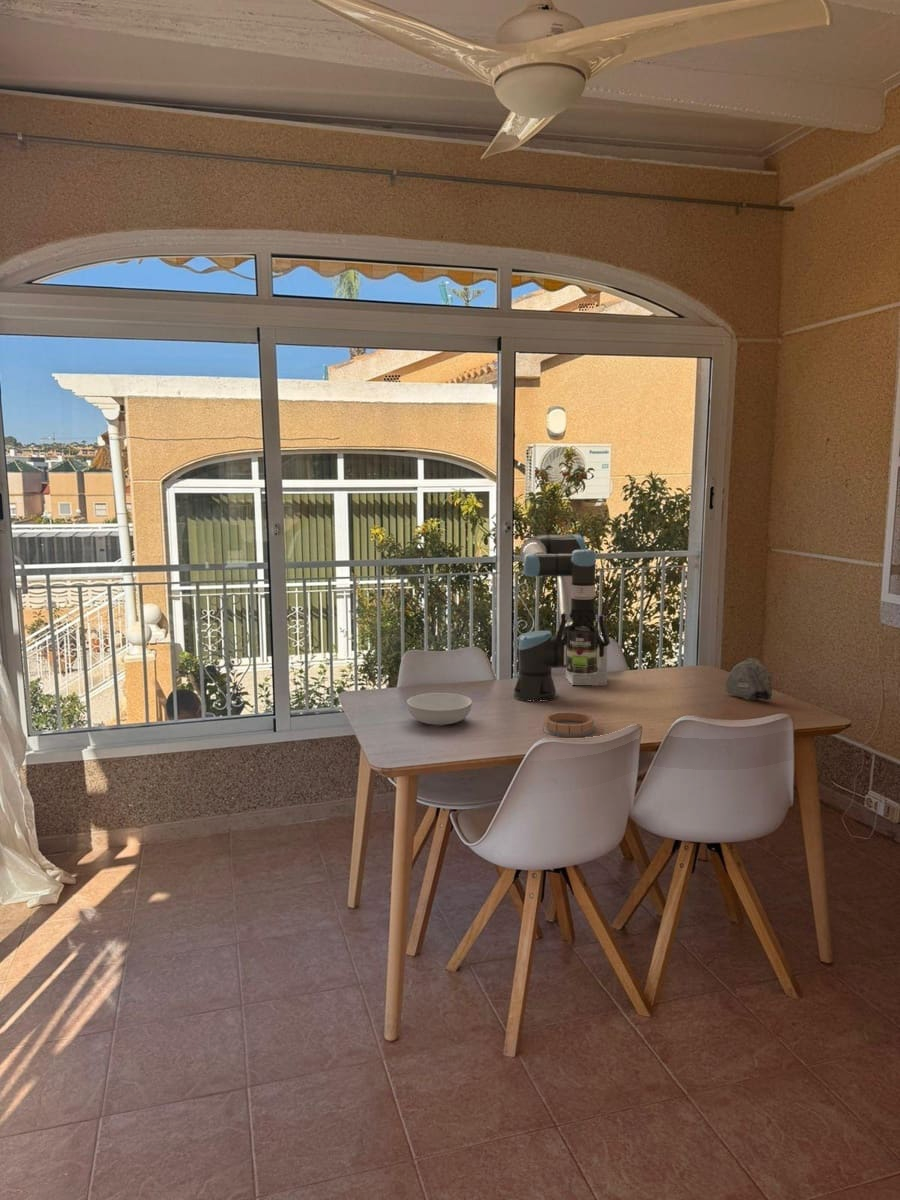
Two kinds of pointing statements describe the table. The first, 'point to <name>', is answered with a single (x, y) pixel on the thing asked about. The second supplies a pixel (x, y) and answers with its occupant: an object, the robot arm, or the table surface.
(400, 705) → the table surface
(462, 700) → the serving bowl
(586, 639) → the coffee can
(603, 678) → the supplement box
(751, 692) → the decorative rock
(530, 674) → the robot arm
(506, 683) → the table surface
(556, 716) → the collar
